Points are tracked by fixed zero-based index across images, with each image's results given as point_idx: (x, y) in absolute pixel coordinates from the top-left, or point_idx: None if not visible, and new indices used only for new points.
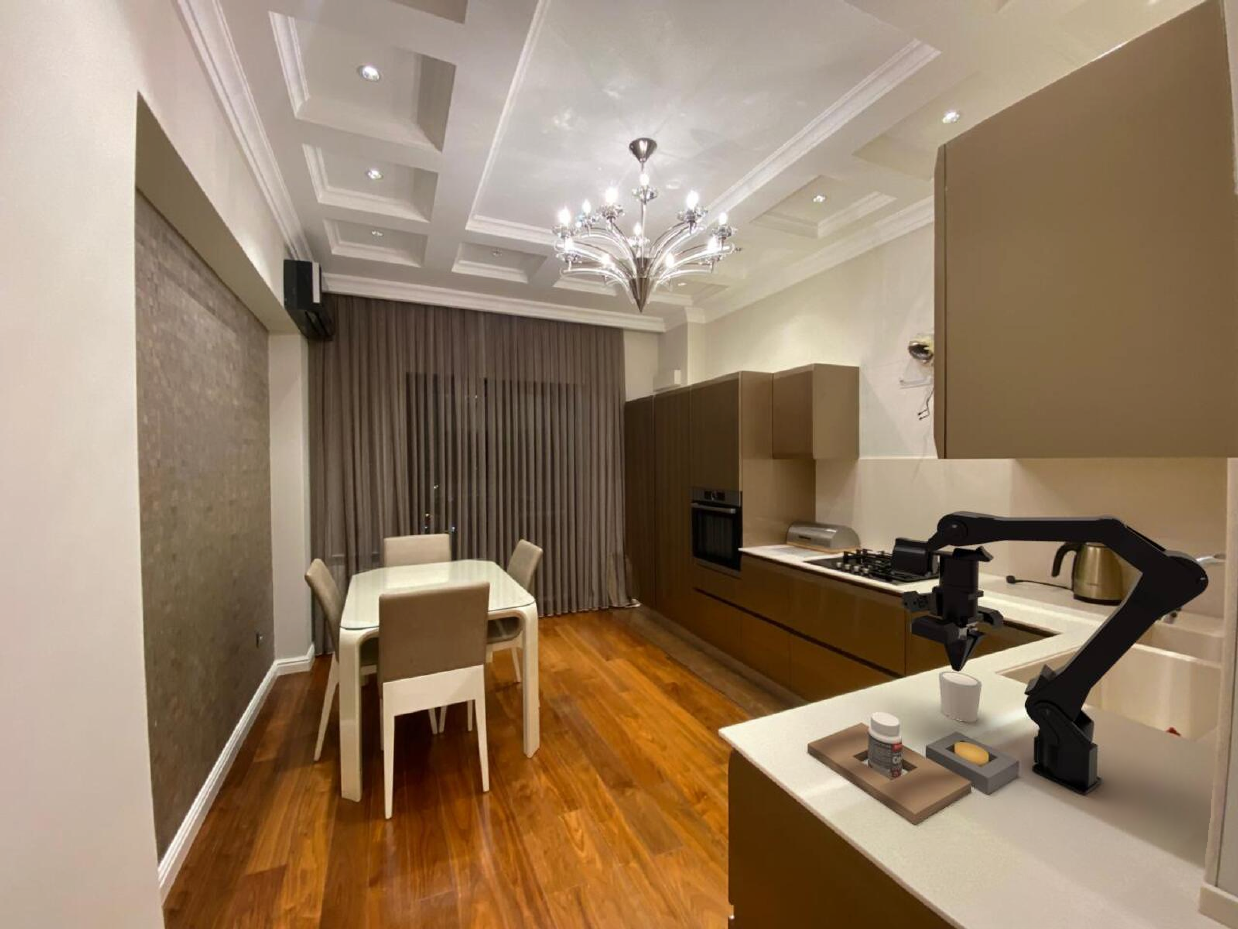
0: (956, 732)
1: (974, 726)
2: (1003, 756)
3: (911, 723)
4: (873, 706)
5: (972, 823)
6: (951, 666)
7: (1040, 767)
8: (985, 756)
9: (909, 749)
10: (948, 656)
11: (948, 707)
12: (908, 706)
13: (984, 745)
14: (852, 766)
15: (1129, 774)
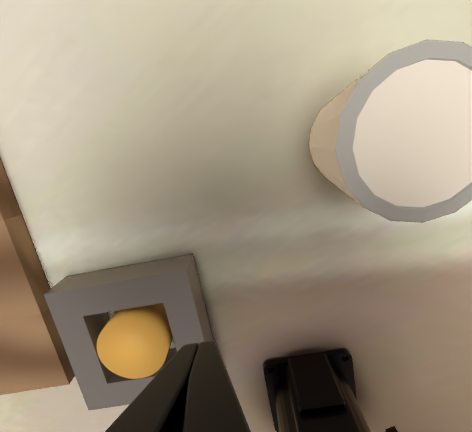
0: (179, 274)
1: (328, 202)
2: None
3: (166, 137)
4: (124, 8)
5: (15, 415)
6: (174, 357)
7: (281, 371)
8: (142, 374)
9: (18, 268)
10: (118, 425)
11: (314, 142)
12: (243, 47)
13: (196, 334)
14: None
15: (438, 413)
